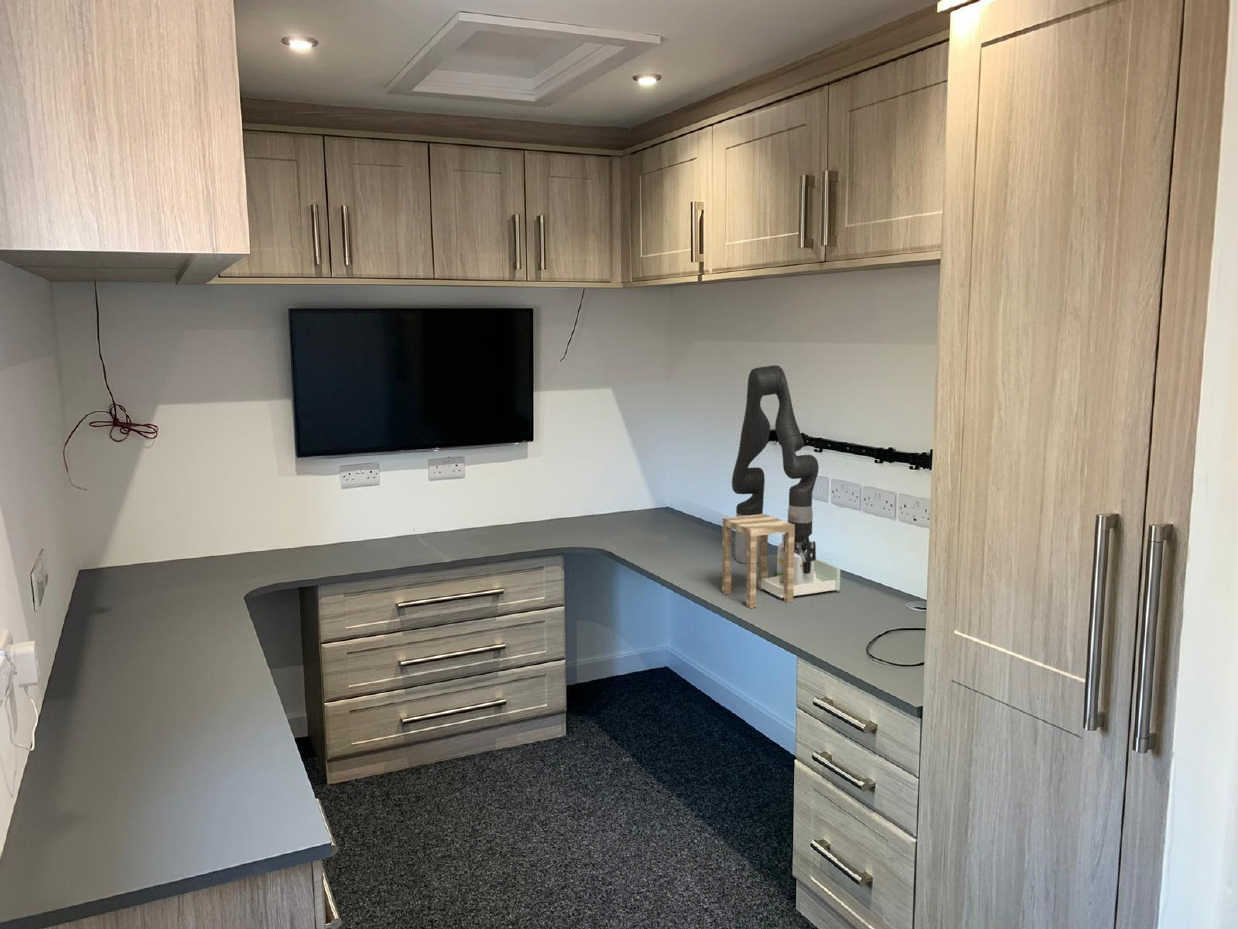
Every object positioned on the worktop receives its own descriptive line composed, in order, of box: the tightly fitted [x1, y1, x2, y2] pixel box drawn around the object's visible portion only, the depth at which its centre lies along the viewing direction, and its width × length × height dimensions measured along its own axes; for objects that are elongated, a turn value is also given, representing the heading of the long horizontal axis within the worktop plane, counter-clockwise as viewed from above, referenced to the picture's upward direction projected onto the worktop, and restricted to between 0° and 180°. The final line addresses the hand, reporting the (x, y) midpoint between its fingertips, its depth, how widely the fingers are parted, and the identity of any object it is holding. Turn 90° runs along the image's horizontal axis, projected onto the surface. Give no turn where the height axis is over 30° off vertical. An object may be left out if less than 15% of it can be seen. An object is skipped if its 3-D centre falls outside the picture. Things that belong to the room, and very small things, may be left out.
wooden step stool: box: [721, 513, 795, 609], centre depth 284 cm, size 17×15×24 cm
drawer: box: [761, 558, 841, 599], centre depth 291 cm, size 13×21×7 cm, turn 113°
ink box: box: [776, 533, 785, 576], centre depth 304 cm, size 9×5×15 cm, turn 62°
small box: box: [794, 550, 814, 586], centre depth 291 cm, size 8×6×10 cm
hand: (799, 569), depth 291 cm, fingers open, 8 cm apart
